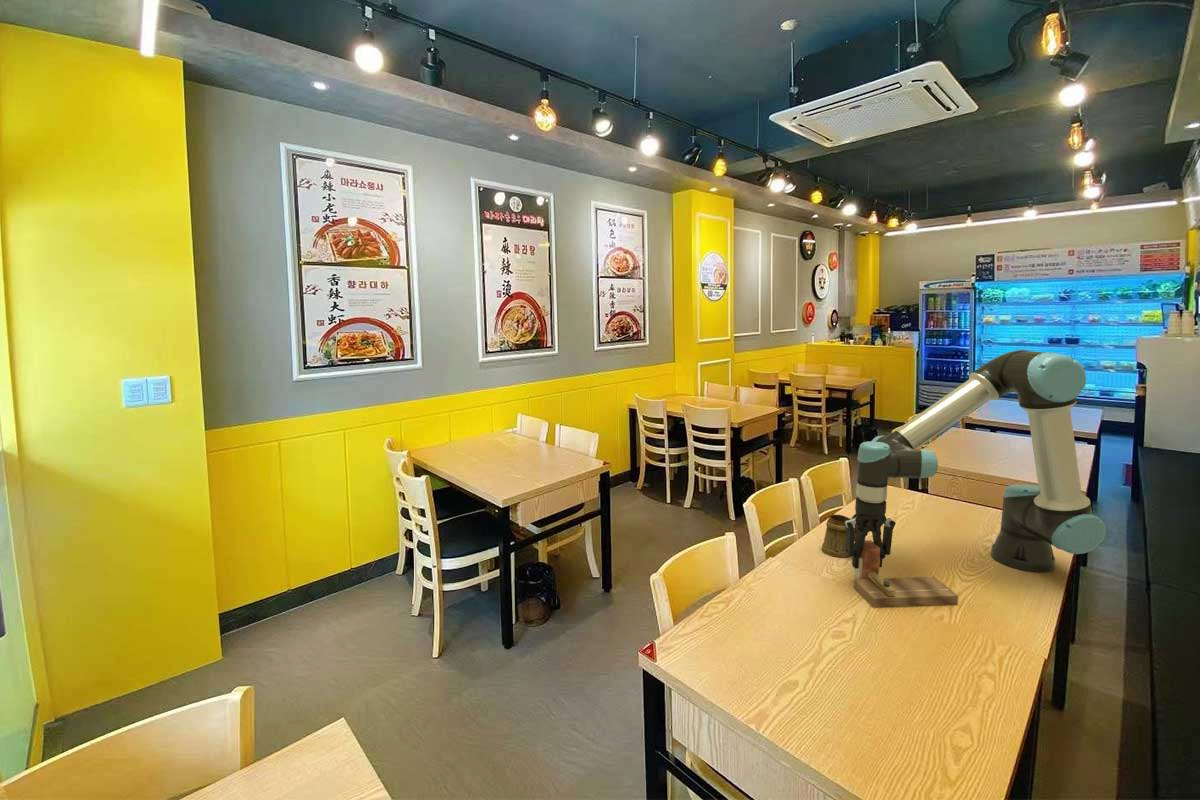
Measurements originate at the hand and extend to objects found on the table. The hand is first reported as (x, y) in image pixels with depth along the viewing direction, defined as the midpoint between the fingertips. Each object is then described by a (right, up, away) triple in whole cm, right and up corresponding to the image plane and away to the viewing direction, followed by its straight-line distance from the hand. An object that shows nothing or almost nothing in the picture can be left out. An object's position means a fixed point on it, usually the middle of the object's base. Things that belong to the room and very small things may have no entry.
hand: (866, 577), depth 151 cm
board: (+6, -2, -8) cm, 10 cm away
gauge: (0, -2, -5) cm, 5 cm away
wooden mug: (+2, +2, +18) cm, 18 cm away
